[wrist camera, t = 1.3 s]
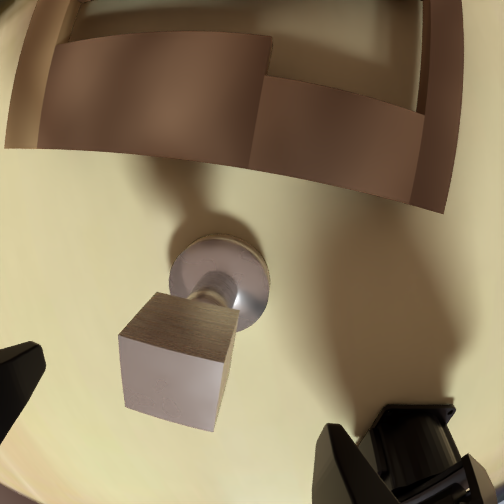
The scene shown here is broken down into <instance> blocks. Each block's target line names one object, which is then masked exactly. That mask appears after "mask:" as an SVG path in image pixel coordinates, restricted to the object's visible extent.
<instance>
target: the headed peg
mask: <svg viewBox="0 0 504 504" xmlns="http://www.w3.org/2000/svg"><path fill="white" fill-rule="evenodd" d="M169 289H170V294H171V295H168V294H164V293H160V292H156V293H155V294H154V295H153V297H152V298H151V299H150V300H149V301H148V302H147V303H146V304H145V305H144V307H143V308H142V309H141V310H140V311H139V312H138V313H137V314H136V315H135V317H134V318H133V319H132V320H131V321H130V322H129V323H128V324H127V326H126V327H125V328H124V329H123V330H122V331H121V332H120V334H119V335H118V340H119V354H120V365H121V375H122V384H123V392H124V400H125V407H127V408H130V409H133V410H136V411H138V412H141V413H145V414H148V415H151V416H154V417H157V418H161V419H164V420H167V421H171V422H174V423H178V424H182V425H185V426H189V427H193V428H197V429H201V430H205V431H210V432H214V428H215V424H216V421H217V417H218V413H219V410H220V406H221V402H222V399H223V395H224V391H225V387H226V384H227V380H228V376H229V371H230V365H231V359H232V353H233V347H234V342H235V336H236V332H238V331H241V330H244V329H246V328H248V327H249V326H251V325H252V324H254V323H255V322H256V321H257V320H258V319H259V318H260V316H261V315H262V313H263V312H264V310H265V308H266V305H267V302H268V296H269V289H270V275H269V270H268V267H267V265H266V262H265V260H264V259H263V257H262V256H261V254H260V253H259V252H258V251H257V250H256V249H255V248H254V247H253V246H252V245H251V244H249V243H248V242H246V241H244V240H243V239H240V238H238V237H235V236H232V235H226V234H213V235H208V236H204V237H202V238H199V239H197V240H196V241H194V242H193V243H192V244H190V245H189V246H188V247H187V248H186V249H185V250H184V251H183V252H182V253H181V254H180V255H179V256H178V257H177V259H176V260H175V262H174V264H173V266H172V268H171V272H170V276H169Z"/></svg>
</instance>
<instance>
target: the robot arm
mask: <svg viewBox="0 0 504 504" xmlns="http://www.w3.org/2000/svg"><path fill="white" fill-rule="evenodd" d="M45 369H46V362H45V358H44V354H43V350H42V347H41V345H39V344H37V343H35V342H33V341H28V342H25V343H21V344H18V345H14V346H11V347H7V348H4V349H0V445H1V443H2V441H3V440H4V438H5V436H6V435H7V433H8V432H9V430H10V429H11V427H12V425H13V424H14V422H15V421H16V419H17V418H18V416H19V415H20V413H21V412H22V410H23V409H24V407H25V406H26V404H27V402H28V401H29V399H30V397H31V395H32V393H33V391H34V390H35V388H36V386H37V384H38V382H39V380H40V379H41V377H42V375H43V373H44V372H45ZM455 411H456V408H455V406H454V405H452V404H450V405H394V404H391V405H387V406H385V407H384V408H383V409H382V410H381V412H380V414H379V415H378V417H377V419H376V420H375V422H374V424H373V425H372V427H371V428H370V429H369V430H368V432H367V433H366V435H365V437H364V438H363V440H362V441H361V443H360V444H359V446H358V447H357V446H356V444H355V443H354V442H353V440H352V439H351V438H350V436H349V435H348V433H347V432H346V431H345V429H344V428H343V427H342V425H340V424H333V423H327V424H326V425H325V426H324V428H323V430H322V432H321V434H320V436H319V438H318V440H317V443H316V450H315V462H314V473H313V483H312V504H498V503H497V497H496V492H495V489H494V486H493V484H492V482H491V480H490V478H489V476H488V474H487V472H486V470H485V468H484V467H483V466H482V465H481V464H479V463H478V462H477V461H476V460H475V459H474V458H473V457H472V456H471V455H470V454H469V453H468V454H466V455H465V456H463V457H462V458H461V456H460V454H459V451H458V449H457V447H456V444H455V442H454V440H453V438H452V435H451V433H450V431H449V429H448V427H447V423H448V422H449V420H450V419H451V417H452V416H453V415H454V413H455ZM468 488H469V489H470V490H469V491H467V492H466V489H468Z"/></svg>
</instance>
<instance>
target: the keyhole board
mask: <svg viewBox="0 0 504 504" xmlns="http://www.w3.org/2000/svg"><path fill="white" fill-rule="evenodd" d="M87 1H92V0H38V2H37V5H36V7H35V10H34V13H33V15H32V18H31V21H30V24H29V27H28V30H27V33H26V37H25V40H24V43H23V47H22V51H21V54H20V58H19V62H18V66H17V70H16V75H15V79H14V84H13V89H12V95H11V100H10V106H9V113H8V120H7V128H6V136H5V147H4V149H9V148H21V149H64V150H84V151H100V152H114V153H126V154H137V155H147V156H157V157H166V158H174V159H183V160H190V161H198V162H205V163H212V164H219V165H226V166H232V167H239V168H245V169H251V170H257V171H262V172H268V173H274V174H279V175H284V176H290V177H295V178H300V179H305V180H310V181H314V182H319V183H324V184H328V185H333V186H337V187H342V188H346V189H351V190H355V191H359V192H363V193H367V194H371V195H375V196H379V197H383V198H387V199H391V200H395V201H398V202H402V203H406V204H409V205H413V206H417V207H420V208H424V209H427V210H431V211H434V212H437V213H441V214H444V210H445V205H446V201H447V196H448V192H449V187H450V182H451V177H452V172H453V166H454V160H455V154H456V148H457V141H458V133H459V125H460V116H461V105H462V92H463V71H464V32H463V13H462V1H461V0H421V1H423V29H422V54H421V70H420V82H419V92H418V101H417V109H416V112H414V111H411V110H408V109H405V108H402V107H399V106H396V105H393V104H390V103H387V102H384V101H380V100H377V99H373V98H370V97H366V96H363V95H359V94H355V93H351V92H348V91H343V90H339V89H335V88H331V87H326V86H322V85H317V84H312V83H307V82H302V81H297V80H291V79H285V78H279V77H272V76H267V74H268V68H269V63H270V57H271V52H272V46H273V43H272V37H271V36H263V35H253V34H243V33H229V32H209V31H166V32H146V33H133V34H122V35H114V36H106V37H98V38H92V39H86V40H80V41H74V42H69V39H70V36H71V32H72V29H73V26H74V23H75V20H76V17H77V14H78V11H79V8H80V5H81V3H83V2H87Z"/></svg>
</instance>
